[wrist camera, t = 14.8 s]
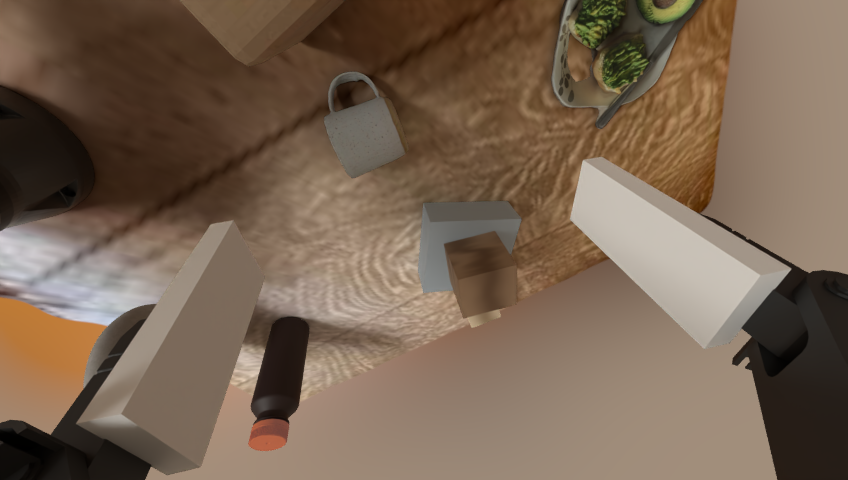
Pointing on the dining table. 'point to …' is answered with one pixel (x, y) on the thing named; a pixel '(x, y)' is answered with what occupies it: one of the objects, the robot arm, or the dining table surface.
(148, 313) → the grey round disc
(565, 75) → the salad plate
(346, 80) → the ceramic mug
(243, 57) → the wooden block
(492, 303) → the walnut cube
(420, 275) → the slate block
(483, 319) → the maple cube
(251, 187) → the dining table surface
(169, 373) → the robot arm
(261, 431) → the bottle
